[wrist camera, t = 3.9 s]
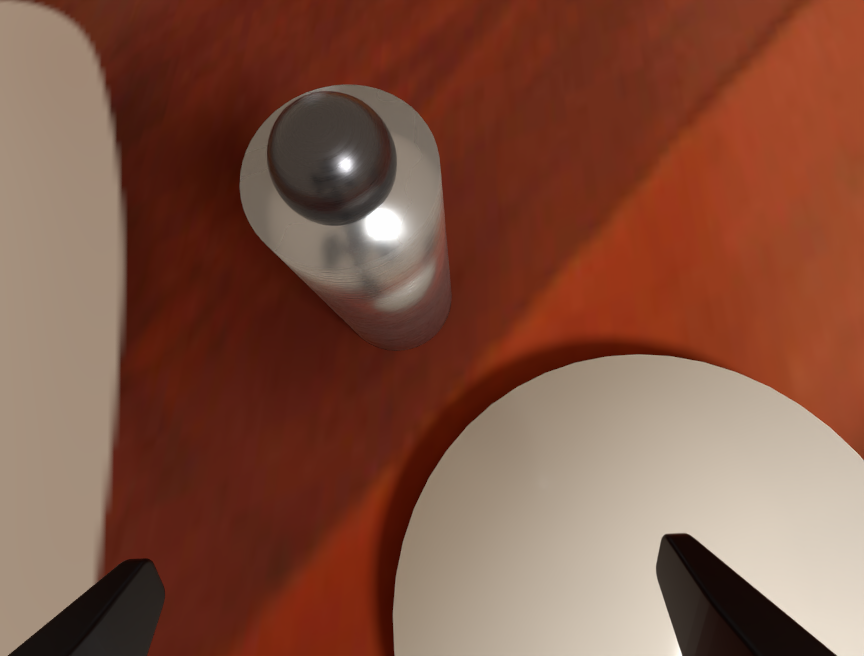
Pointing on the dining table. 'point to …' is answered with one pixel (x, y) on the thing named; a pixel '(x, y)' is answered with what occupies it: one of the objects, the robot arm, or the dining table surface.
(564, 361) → the dining table surface
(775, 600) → the plate
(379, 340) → the pepper mill
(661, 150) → the dining table surface
